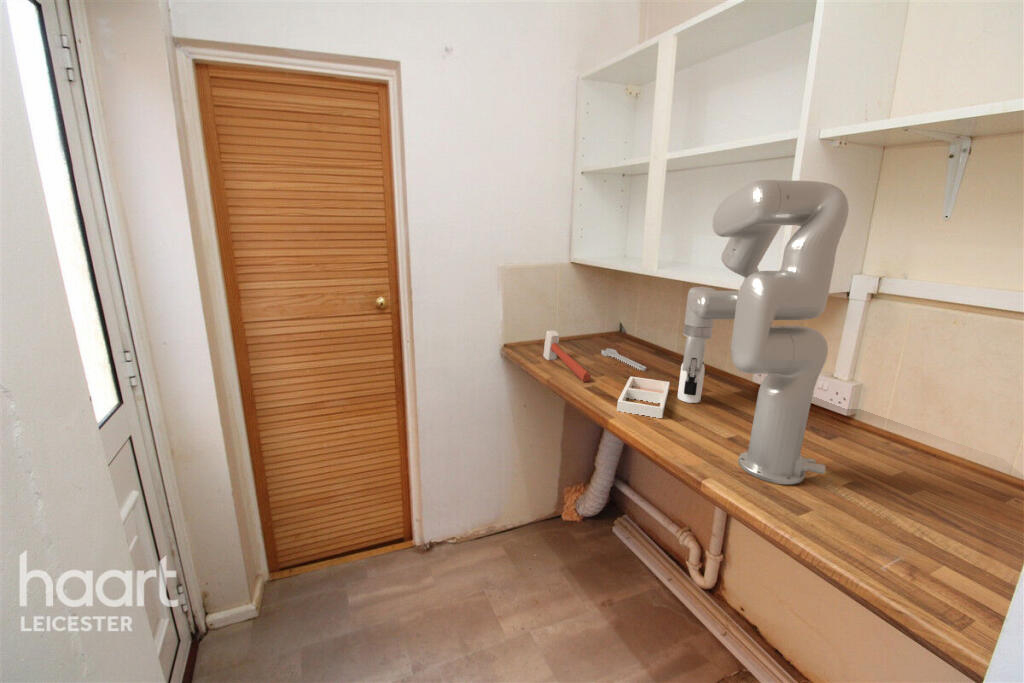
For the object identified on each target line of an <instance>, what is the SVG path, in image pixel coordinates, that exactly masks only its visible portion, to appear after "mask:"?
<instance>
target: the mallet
mask: <svg viewBox="0 0 1024 683" xmlns="http://www.w3.org/2000/svg"><path fill="white" fill-rule="evenodd" d="M559 343H560V334H559V333H558V332H557V331H556V330H546V334H545V340H544V346H543V348H544V349H543V358H544V359H546V360H547V361H553V360H554V361H555V360H557V359H558V358H559V359H560V360H561V361H562V362H563V363H564V364H565V365H566V366H567V367H568V369H570V370H571V372H572V373H573V374H575V375H576V376H577V378H579V379H580V380H581V381H582V382H583V383H587V382H590V381H591V373H589V372H588V370H586V369H585V368H584V367H583V366H582V365H581V364H579V363H578V362H577V361H576V360H575V359H574V358H572V356H570V355H569V354H568V353H566V352H565V351H564V350H563V349H562V348H560V346H559ZM557 357H558V358H557Z"/></svg>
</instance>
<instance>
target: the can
mask: <svg viewBox="0 0 1024 683" xmlns="http://www.w3.org/2000/svg"><path fill="white" fill-rule="evenodd" d="M691 362H692V360H691ZM696 362H697V361H696ZM682 367H683V362H682V363H681V366H680V374H679V381H678V382H679V383H678V391H677V399H678V401H680V400H681V401H680V402H682V401H683V403H685V402H686V404H691V403H695V404H699V403H700V402H701V398H702V391H703V387H704V386H703V385H704V377H705V371H706V370H705V369H706V367H705V362H704V361H703V363H702V367H701V371H700V372H699V373H698V374H697V381H696V382H697V388H696V395H688V394H684V387H685V380H686V379H687V371H688V369H687V370H685V371H683V370H682ZM689 367H690V366H689ZM689 370H691V369H689ZM696 370H697V369H696ZM696 370H695V371H696ZM689 374H690V373H689ZM688 379H689V378H688Z"/></svg>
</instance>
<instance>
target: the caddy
mask: <svg viewBox="0 0 1024 683" xmlns="http://www.w3.org/2000/svg"><path fill="white" fill-rule="evenodd" d="M632 386H633V387H632ZM639 387H640V388H639ZM669 389H670V381H665V380H657V379H653V378H644V377H639V376H637V377H636V376H630V377H629V378H628V380H627V382H626V383H625V386H624V388H623V389H622V391H621V394H620V396H619V397H618V400H617V404H616V412H618V411H621V412H620V413H624V412H626V413H625V414H629V413H632V414H631V415H635V414H639V415H638V416H641V415H645V416H644V417H646V416H650V417H649V418H652V417H656V418H655V419H658V418H662V419H663V416H664V411H665V407H666V403H667V400H668V394H669ZM626 398H629V400H634V399H636V400H635V401H640V400H643V401H642V402H646V401H648V402H647V403H652V402H653V403H654V404H658V403H660V404H659V406H656V405H650V404H644V403H640V402H633V401H627V399H626Z"/></svg>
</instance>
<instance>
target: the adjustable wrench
mask: <svg viewBox="0 0 1024 683" xmlns="http://www.w3.org/2000/svg"><path fill="white" fill-rule="evenodd" d="M600 351H601V352H600V355H602V356H604V357H609V356H611V357H610V358H613V357H615V358H614V359H616V358H617V359H616V360H618V359H619V360H618V361H620V360H621V361H620V362H622V361H623V362H622V363H624V362H625V363H624V364H626V363H627V364H626V365H628V364H629V365H628V366H630V365H631V366H630V367H632V366H633V367H632V368H634V367H635V368H634V369H636V368H637V369H636V370H638V369H639V370H638V371H640V370H642V371H641V372H645V370H646V371H647V366H645V365H642V364H640V363H639V362H637V361H634V360H633V359H630V358H628V357H626V356H624V355H621V354H619V353H618V350H616V349H613V348H605V350H604V349H601V350H600Z"/></svg>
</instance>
